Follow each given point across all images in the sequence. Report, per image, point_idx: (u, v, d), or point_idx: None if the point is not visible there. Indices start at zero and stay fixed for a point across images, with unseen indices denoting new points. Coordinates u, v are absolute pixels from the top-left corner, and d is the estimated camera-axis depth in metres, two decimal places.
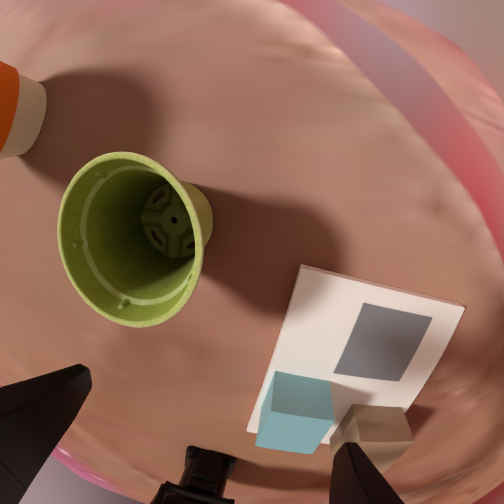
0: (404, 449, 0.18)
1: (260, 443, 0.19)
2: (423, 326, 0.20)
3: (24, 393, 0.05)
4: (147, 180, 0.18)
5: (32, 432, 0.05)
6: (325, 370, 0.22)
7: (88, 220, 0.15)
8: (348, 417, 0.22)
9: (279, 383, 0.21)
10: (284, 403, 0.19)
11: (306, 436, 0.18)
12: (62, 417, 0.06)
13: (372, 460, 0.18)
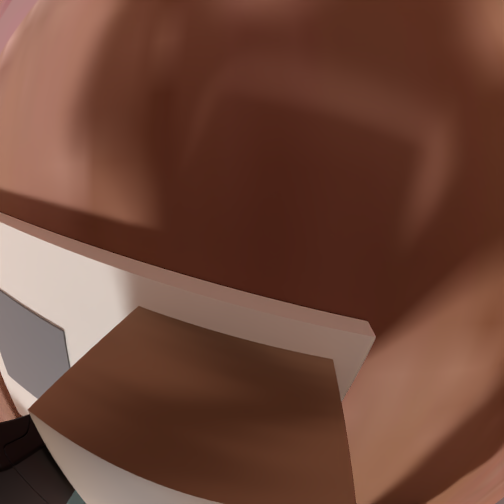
0: (86, 457, 0.03)
1: None
2: None
3: None
4: None
5: None
6: None
7: None
8: None
9: None
10: None
11: None
12: None
13: None
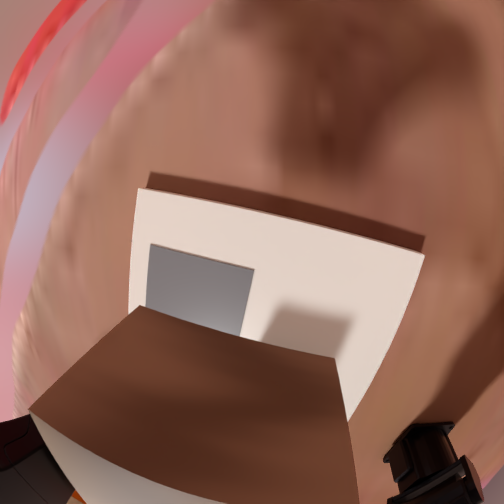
0: (88, 457, 0.03)
1: None
2: (163, 254, 0.18)
3: None
4: None
5: None
6: None
7: None
8: None
9: None
10: None
11: None
12: None
13: None
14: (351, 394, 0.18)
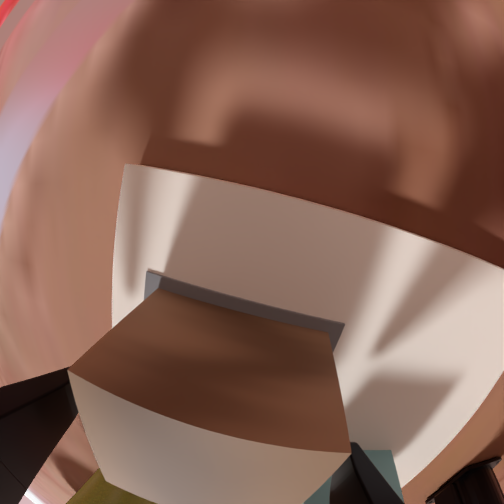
0: (120, 407, 0.04)
1: None
2: (171, 289, 0.09)
3: (24, 392, 0.05)
4: None
5: (32, 432, 0.05)
6: None
7: None
8: None
9: None
10: None
11: None
12: (62, 417, 0.06)
13: (195, 487, 0.05)
14: (425, 457, 0.10)
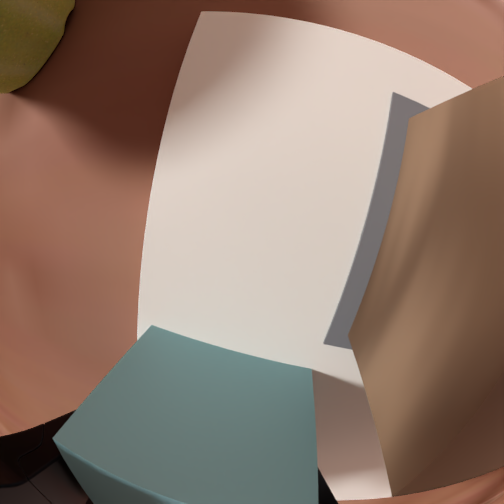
0: None
1: None
2: None
3: None
4: None
5: None
6: (298, 334, 0.07)
7: None
8: (413, 165, 0.05)
9: (143, 359, 0.06)
10: (120, 427, 0.04)
11: None
12: None
13: None
14: None
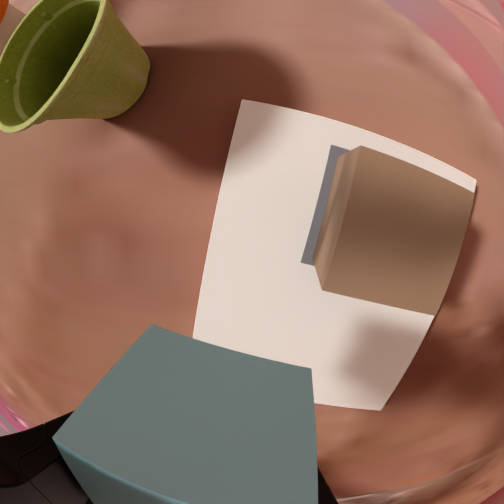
0: (463, 219, 0.09)
1: None
2: None
3: None
4: None
5: None
6: (288, 257, 0.16)
7: (26, 64, 0.10)
8: (335, 179, 0.14)
9: (143, 359, 0.06)
10: (119, 426, 0.04)
11: None
12: None
13: (407, 242, 0.10)
14: None
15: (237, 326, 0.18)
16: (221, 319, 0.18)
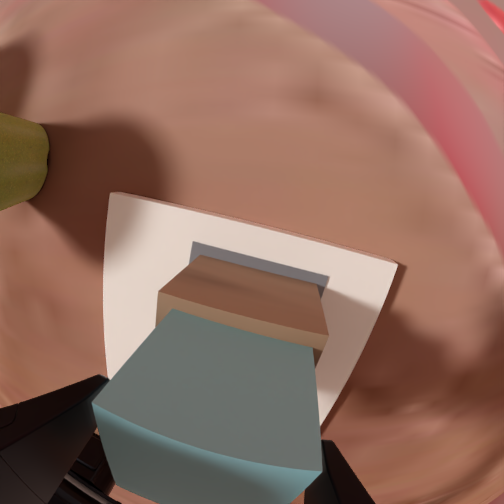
0: None
1: (123, 484, 0.06)
2: None
3: (44, 407, 0.05)
4: None
5: (53, 448, 0.04)
6: None
7: None
8: None
9: (168, 336, 0.08)
10: (152, 391, 0.05)
11: (233, 499, 0.05)
12: (83, 430, 0.06)
13: None
14: None
15: None
16: None
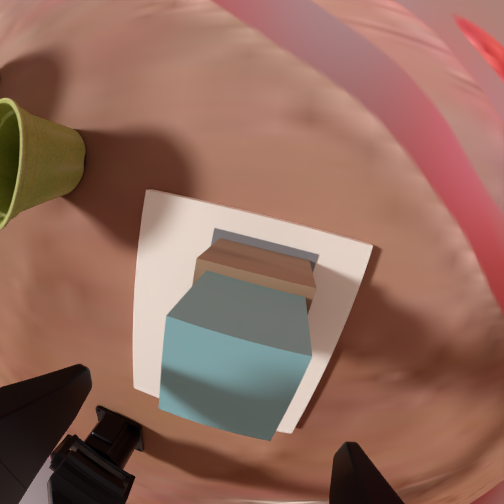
0: None
1: (166, 404, 0.10)
2: None
3: (24, 392, 0.05)
4: None
5: (32, 432, 0.05)
6: None
7: None
8: None
9: (207, 284, 0.12)
10: (203, 310, 0.10)
11: (253, 396, 0.09)
12: (62, 417, 0.06)
13: None
14: None
15: (161, 359, 0.22)
16: (149, 353, 0.22)
